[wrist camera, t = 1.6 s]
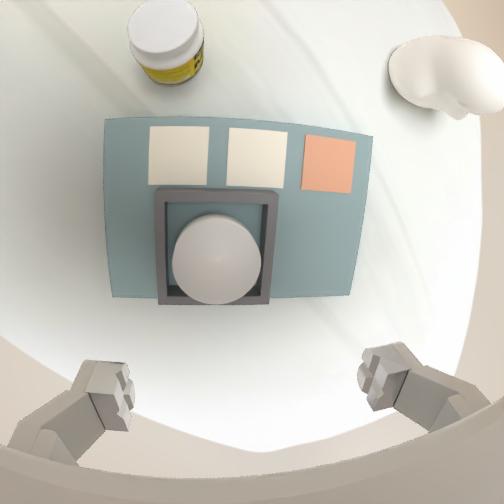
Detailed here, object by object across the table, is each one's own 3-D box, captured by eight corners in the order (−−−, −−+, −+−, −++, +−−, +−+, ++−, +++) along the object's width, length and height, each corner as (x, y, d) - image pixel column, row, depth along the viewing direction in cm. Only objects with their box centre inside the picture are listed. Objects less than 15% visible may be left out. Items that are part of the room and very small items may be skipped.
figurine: (378, 102, 24) (474, 92, 13) (385, 33, 22) (471, 0, 10) (433, 124, 25) (525, 131, 14) (438, 61, 23) (524, 48, 12)
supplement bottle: (206, 82, 22) (208, 52, 14) (147, 92, 21) (122, 69, 13) (200, 30, 20) (201, -16, 12) (143, 41, 19) (119, 0, 12)
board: (115, 290, 26) (106, 308, 23) (109, 120, 21) (96, 117, 18) (344, 289, 30) (358, 304, 27) (366, 136, 25) (385, 136, 22)
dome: (177, 280, 25) (173, 307, 21) (176, 208, 23) (170, 222, 19) (249, 280, 26) (258, 306, 22) (254, 209, 24) (265, 224, 20)
